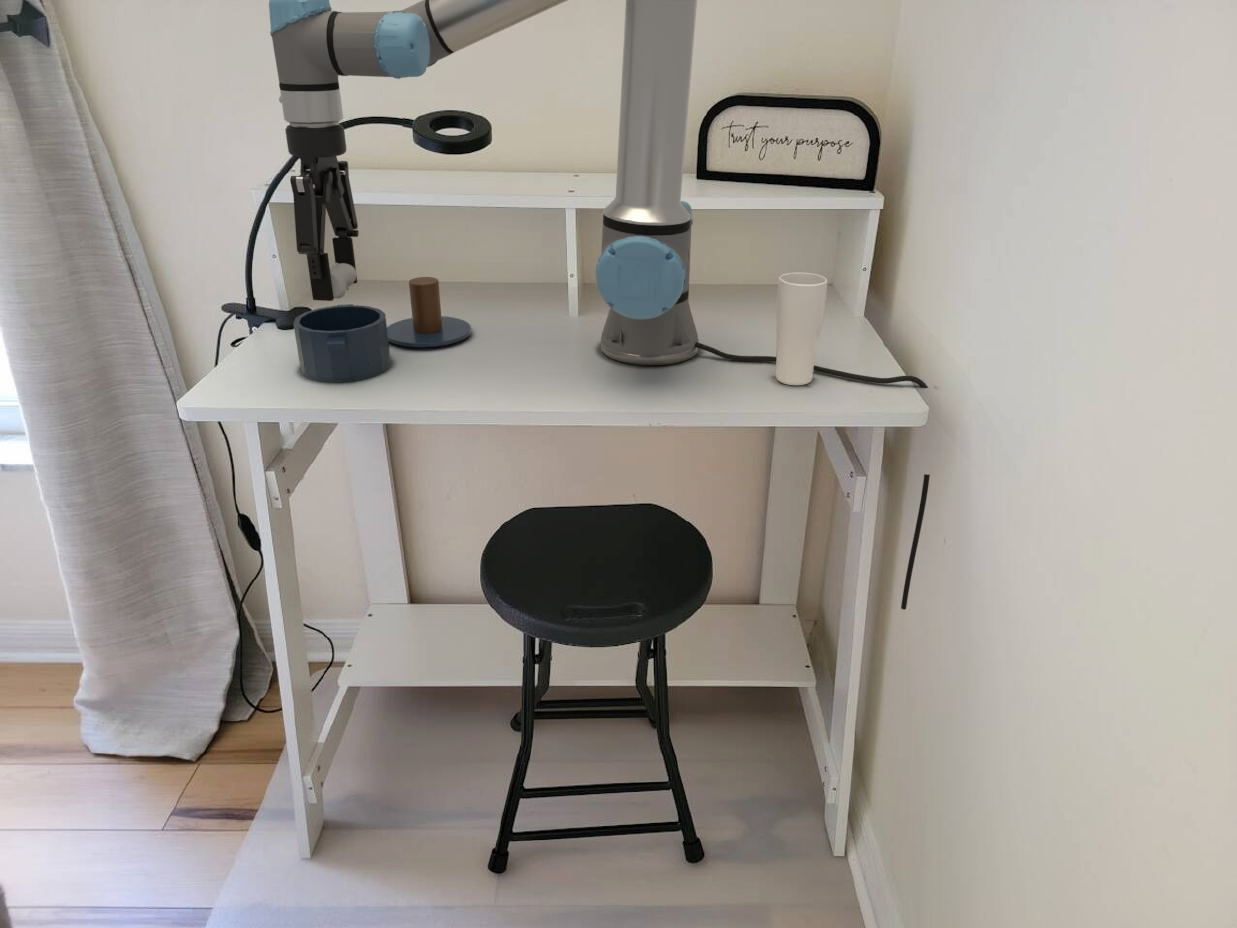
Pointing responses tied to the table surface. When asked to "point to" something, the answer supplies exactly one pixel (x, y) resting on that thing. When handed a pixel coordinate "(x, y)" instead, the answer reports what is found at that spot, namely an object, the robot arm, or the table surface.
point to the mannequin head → (342, 278)
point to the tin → (342, 343)
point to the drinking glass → (798, 325)
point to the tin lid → (427, 319)
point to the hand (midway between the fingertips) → (335, 290)
